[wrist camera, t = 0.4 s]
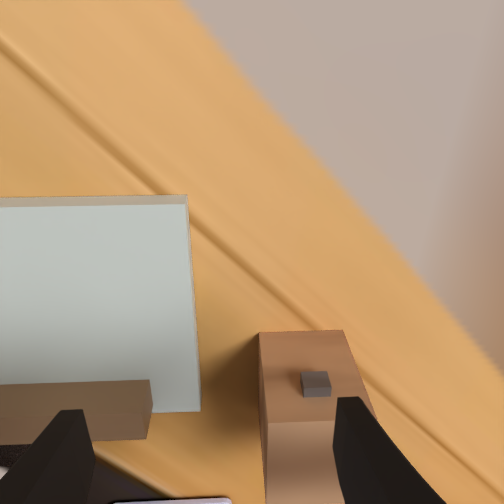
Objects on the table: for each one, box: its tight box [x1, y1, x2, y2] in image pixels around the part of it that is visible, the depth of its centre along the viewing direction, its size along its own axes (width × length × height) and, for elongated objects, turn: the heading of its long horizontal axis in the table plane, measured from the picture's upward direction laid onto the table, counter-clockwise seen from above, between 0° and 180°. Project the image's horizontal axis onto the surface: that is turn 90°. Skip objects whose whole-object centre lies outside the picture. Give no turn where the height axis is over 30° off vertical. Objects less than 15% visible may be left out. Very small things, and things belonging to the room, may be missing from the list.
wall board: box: [0, 195, 202, 445], centre depth 20 cm, size 12×14×3 cm
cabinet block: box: [258, 330, 377, 504], centre depth 21 cm, size 6×4×6 cm
